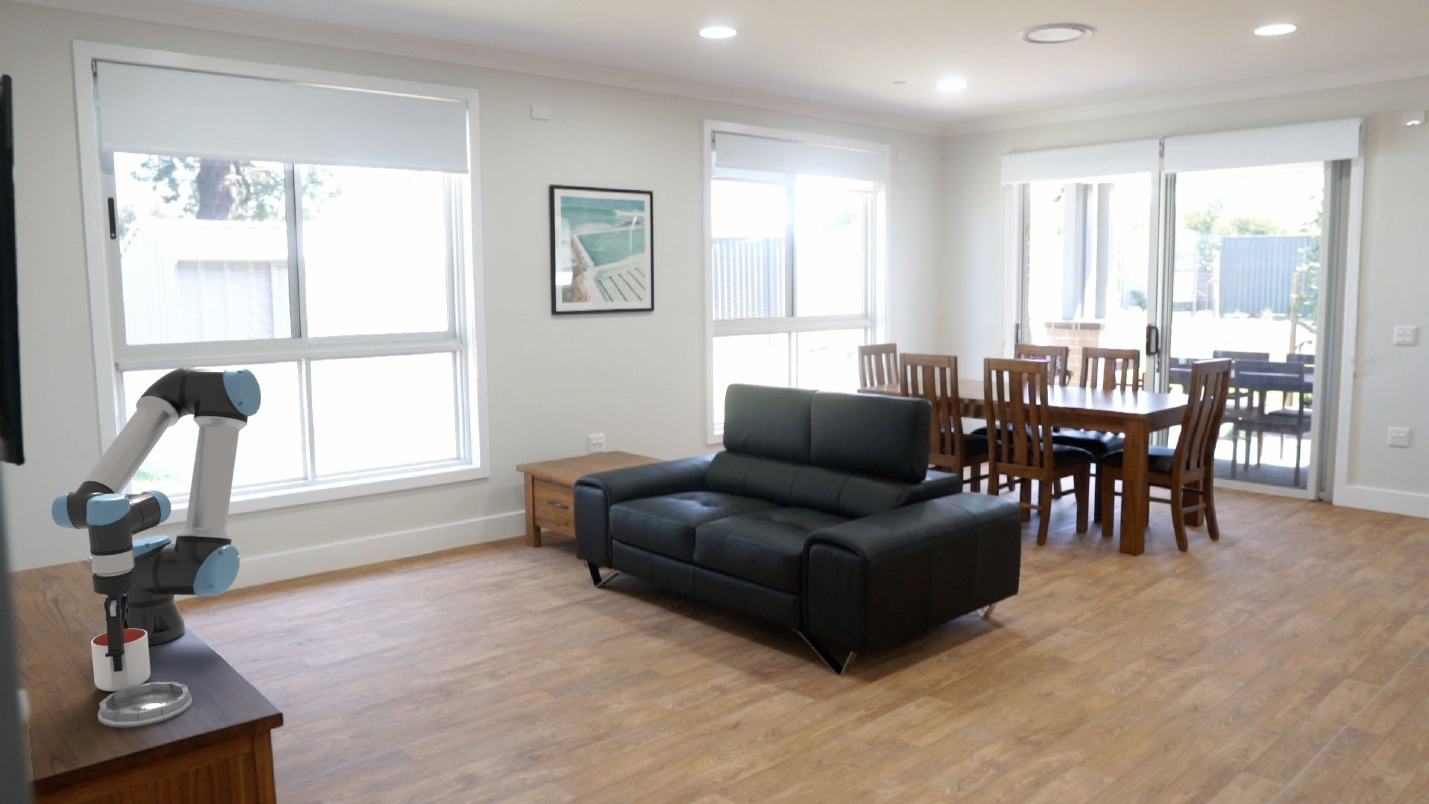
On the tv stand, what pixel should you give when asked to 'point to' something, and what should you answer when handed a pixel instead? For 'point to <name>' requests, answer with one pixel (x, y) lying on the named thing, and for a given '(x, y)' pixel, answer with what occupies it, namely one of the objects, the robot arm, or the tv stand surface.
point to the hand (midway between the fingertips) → (122, 675)
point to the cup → (135, 659)
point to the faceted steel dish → (144, 704)
